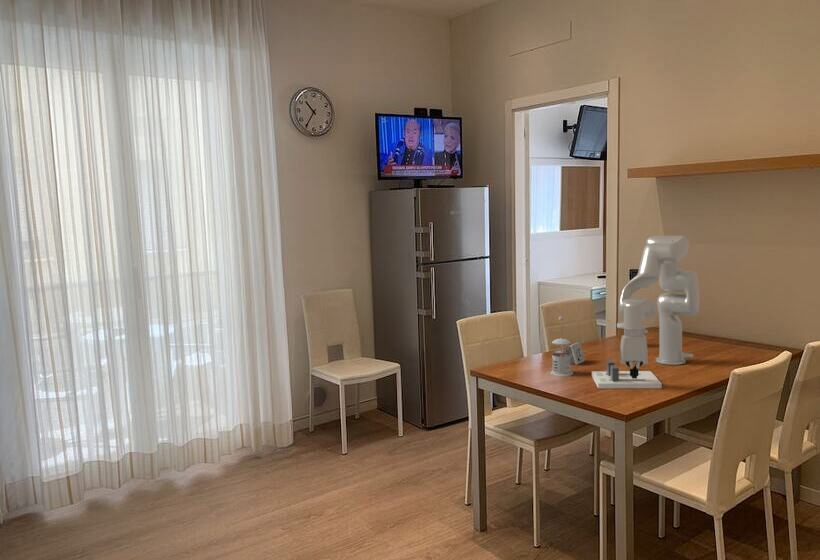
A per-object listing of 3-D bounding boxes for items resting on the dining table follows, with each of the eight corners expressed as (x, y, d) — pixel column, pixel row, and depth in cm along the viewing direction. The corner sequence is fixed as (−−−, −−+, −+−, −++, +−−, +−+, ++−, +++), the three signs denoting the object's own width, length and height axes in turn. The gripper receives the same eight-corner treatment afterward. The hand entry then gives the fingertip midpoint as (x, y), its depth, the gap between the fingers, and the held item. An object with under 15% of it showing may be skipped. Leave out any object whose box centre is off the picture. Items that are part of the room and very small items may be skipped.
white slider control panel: (650, 375, 268) (650, 358, 267) (661, 388, 249) (661, 369, 249) (591, 375, 272) (591, 358, 271) (598, 388, 253) (598, 369, 252)
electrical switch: (577, 365, 291) (575, 345, 290) (566, 365, 294) (564, 345, 293) (585, 361, 298) (583, 341, 297) (575, 361, 301) (573, 341, 301)
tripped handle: (616, 377, 259) (616, 365, 258) (618, 381, 254) (618, 368, 253) (610, 377, 259) (610, 365, 259) (612, 381, 254) (612, 368, 254)
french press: (550, 375, 274) (549, 318, 272) (549, 369, 286) (548, 314, 283) (574, 376, 273) (573, 318, 270) (572, 369, 284) (571, 313, 281)
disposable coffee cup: (618, 343, 331) (618, 321, 330) (637, 344, 327) (637, 321, 326) (615, 347, 323) (615, 324, 322) (635, 348, 319) (635, 325, 317)
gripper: (651, 330, 256) (651, 375, 258) (612, 331, 258) (613, 375, 260) (655, 334, 249) (655, 380, 251) (615, 334, 251) (616, 380, 253)
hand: (634, 377), depth 255 cm, fingers closed
